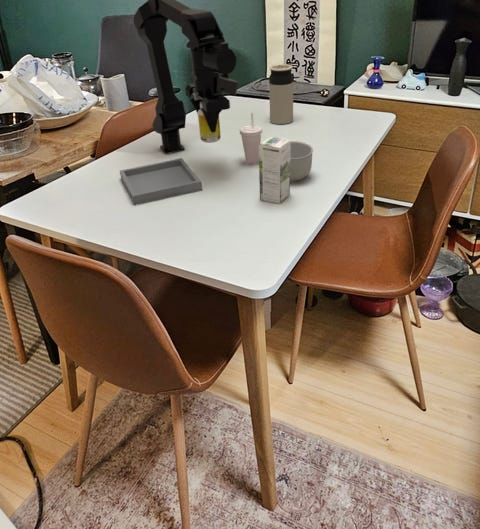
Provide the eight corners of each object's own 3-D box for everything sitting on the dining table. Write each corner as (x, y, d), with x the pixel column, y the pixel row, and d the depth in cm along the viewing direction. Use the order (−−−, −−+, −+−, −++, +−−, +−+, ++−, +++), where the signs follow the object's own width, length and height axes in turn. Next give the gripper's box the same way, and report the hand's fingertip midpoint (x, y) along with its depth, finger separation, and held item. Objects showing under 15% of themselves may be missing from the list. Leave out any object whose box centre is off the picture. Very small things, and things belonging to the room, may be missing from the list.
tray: (121, 178, 138) (119, 170, 136) (182, 166, 143) (181, 158, 141) (134, 205, 124) (132, 196, 122) (202, 190, 129) (201, 181, 127)
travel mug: (293, 124, 167) (294, 68, 157) (270, 125, 167) (269, 70, 157) (292, 116, 174) (292, 63, 164) (269, 118, 174) (268, 64, 164)
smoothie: (261, 166, 139) (259, 117, 131) (239, 165, 140) (236, 117, 133) (265, 157, 144) (263, 109, 136) (243, 157, 146) (240, 109, 138)
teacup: (315, 170, 135) (316, 142, 130) (307, 187, 126) (307, 157, 122) (267, 166, 139) (266, 139, 134) (255, 182, 131) (254, 154, 126)
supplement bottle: (222, 141, 132) (219, 103, 126) (202, 144, 131) (198, 106, 126) (218, 135, 137) (215, 97, 131) (199, 137, 136) (195, 100, 130)
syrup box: (270, 190, 126) (268, 135, 118) (291, 194, 123) (291, 138, 115) (259, 200, 122) (257, 143, 114) (280, 204, 119) (280, 147, 111)
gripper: (247, 70, 119) (250, 133, 127) (221, 57, 133) (225, 114, 142) (204, 77, 115) (210, 141, 124) (181, 63, 130) (188, 121, 139)
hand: (209, 128), depth 132 cm, fingers closed on supplement bottle, 5 cm apart
